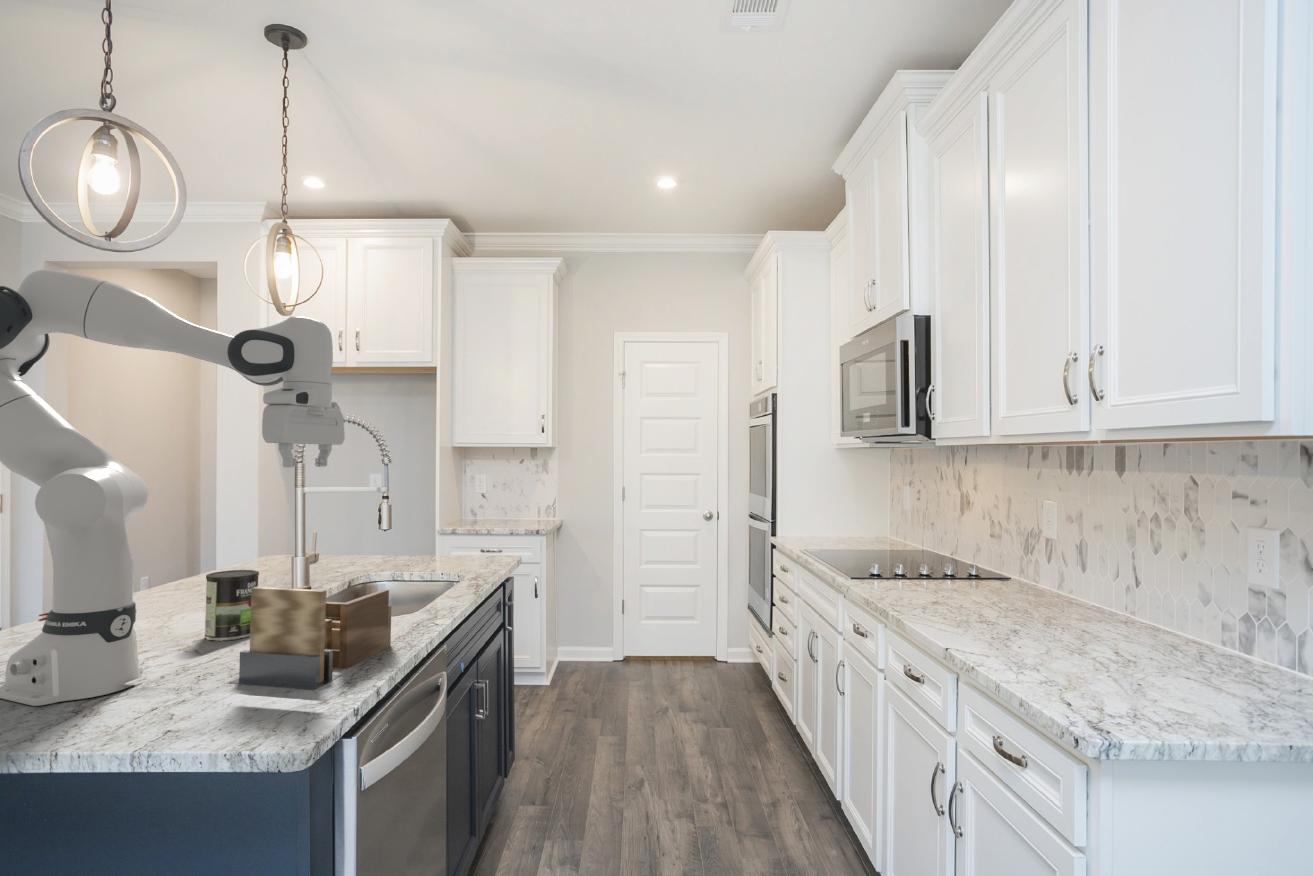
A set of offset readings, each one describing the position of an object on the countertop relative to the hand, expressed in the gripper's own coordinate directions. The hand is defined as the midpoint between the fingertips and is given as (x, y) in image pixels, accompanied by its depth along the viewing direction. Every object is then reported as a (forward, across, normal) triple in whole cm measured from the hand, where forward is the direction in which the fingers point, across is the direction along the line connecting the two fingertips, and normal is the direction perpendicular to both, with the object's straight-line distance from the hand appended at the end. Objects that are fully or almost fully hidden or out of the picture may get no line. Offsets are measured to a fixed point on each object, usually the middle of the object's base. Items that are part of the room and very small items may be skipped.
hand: (305, 467), depth 136 cm
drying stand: (+39, +13, +7) cm, 42 cm away
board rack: (+39, -2, +4) cm, 39 cm away
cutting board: (+38, +13, +7) cm, 40 cm away
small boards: (+38, +1, +4) cm, 38 cm away
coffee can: (+39, -15, -29) cm, 51 cm away
